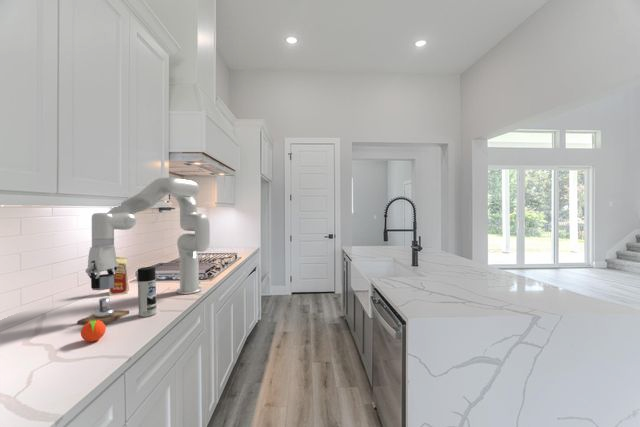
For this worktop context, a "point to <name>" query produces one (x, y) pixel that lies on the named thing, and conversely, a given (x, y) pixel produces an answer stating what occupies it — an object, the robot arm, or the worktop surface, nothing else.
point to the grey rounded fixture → (104, 309)
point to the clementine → (93, 330)
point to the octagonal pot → (106, 281)
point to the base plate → (106, 320)
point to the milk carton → (120, 278)
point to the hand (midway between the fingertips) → (103, 285)
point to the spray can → (146, 291)
